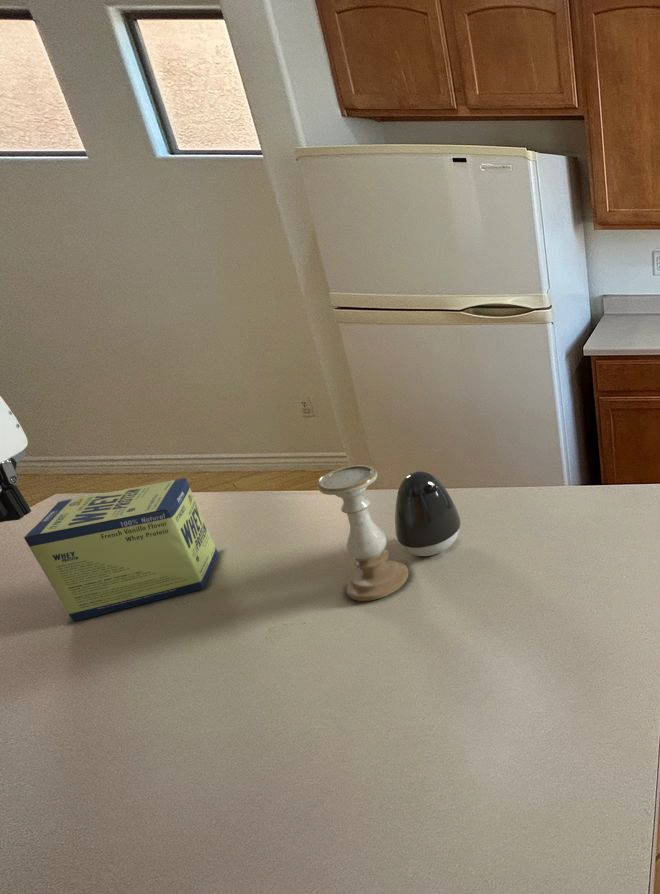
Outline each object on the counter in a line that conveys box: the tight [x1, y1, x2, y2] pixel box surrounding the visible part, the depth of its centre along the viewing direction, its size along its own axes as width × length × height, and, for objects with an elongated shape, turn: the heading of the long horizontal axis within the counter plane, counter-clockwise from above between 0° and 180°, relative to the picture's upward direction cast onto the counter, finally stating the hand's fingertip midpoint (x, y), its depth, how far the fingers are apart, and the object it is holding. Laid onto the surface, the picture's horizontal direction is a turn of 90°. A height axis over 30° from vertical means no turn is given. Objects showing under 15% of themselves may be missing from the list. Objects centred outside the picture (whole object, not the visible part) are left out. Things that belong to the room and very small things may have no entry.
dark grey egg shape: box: [394, 470, 461, 557], centre depth 97 cm, size 10×10×15 cm
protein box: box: [23, 477, 220, 622], centre depth 86 cm, size 10×16×16 cm
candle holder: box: [317, 464, 409, 602], centre depth 87 cm, size 9×9×20 cm
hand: (10, 517), depth 68 cm, fingers closed
